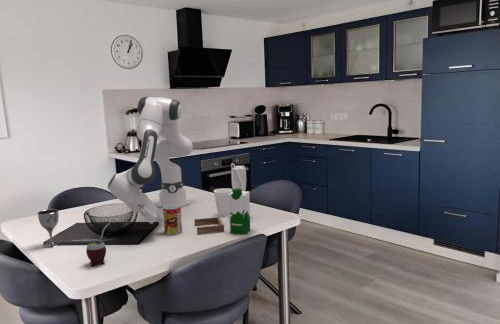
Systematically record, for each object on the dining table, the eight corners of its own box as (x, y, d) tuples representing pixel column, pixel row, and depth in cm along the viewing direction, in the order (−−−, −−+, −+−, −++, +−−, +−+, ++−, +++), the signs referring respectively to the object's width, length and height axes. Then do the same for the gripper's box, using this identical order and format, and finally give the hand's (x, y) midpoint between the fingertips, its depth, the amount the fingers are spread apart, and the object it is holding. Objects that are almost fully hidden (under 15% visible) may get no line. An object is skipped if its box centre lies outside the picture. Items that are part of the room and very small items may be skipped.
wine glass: (48, 249, 178) (44, 215, 175) (37, 246, 182) (33, 212, 179) (65, 243, 184) (62, 210, 182) (54, 240, 188) (51, 208, 186)
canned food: (166, 229, 198) (165, 204, 197) (183, 229, 198) (181, 204, 197) (163, 235, 191) (161, 209, 189) (180, 234, 191) (179, 208, 189)
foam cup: (234, 212, 225) (233, 188, 223) (231, 217, 215) (230, 192, 213) (216, 212, 225) (215, 188, 224) (213, 217, 216) (212, 192, 214)
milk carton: (228, 233, 189) (225, 190, 186) (235, 227, 198) (233, 185, 195) (246, 235, 186) (244, 191, 183) (252, 228, 195) (251, 186, 192)
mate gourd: (83, 265, 158) (79, 227, 156) (98, 258, 166) (94, 221, 163) (99, 268, 156) (95, 229, 153) (113, 260, 163) (110, 222, 161)
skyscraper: (229, 219, 211) (227, 164, 207) (236, 215, 218) (233, 161, 214) (245, 220, 208) (242, 164, 204) (251, 216, 215) (249, 162, 211)
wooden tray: (194, 225, 204) (194, 219, 203) (219, 222, 206) (219, 216, 206) (197, 234, 190) (197, 228, 189) (224, 231, 192) (223, 225, 192)
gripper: (143, 203, 180) (167, 223, 183) (144, 192, 199) (167, 211, 203) (132, 214, 179) (157, 234, 183) (135, 202, 199) (158, 220, 203)
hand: (162, 221), depth 193 cm, fingers closed, pressing on canned food
